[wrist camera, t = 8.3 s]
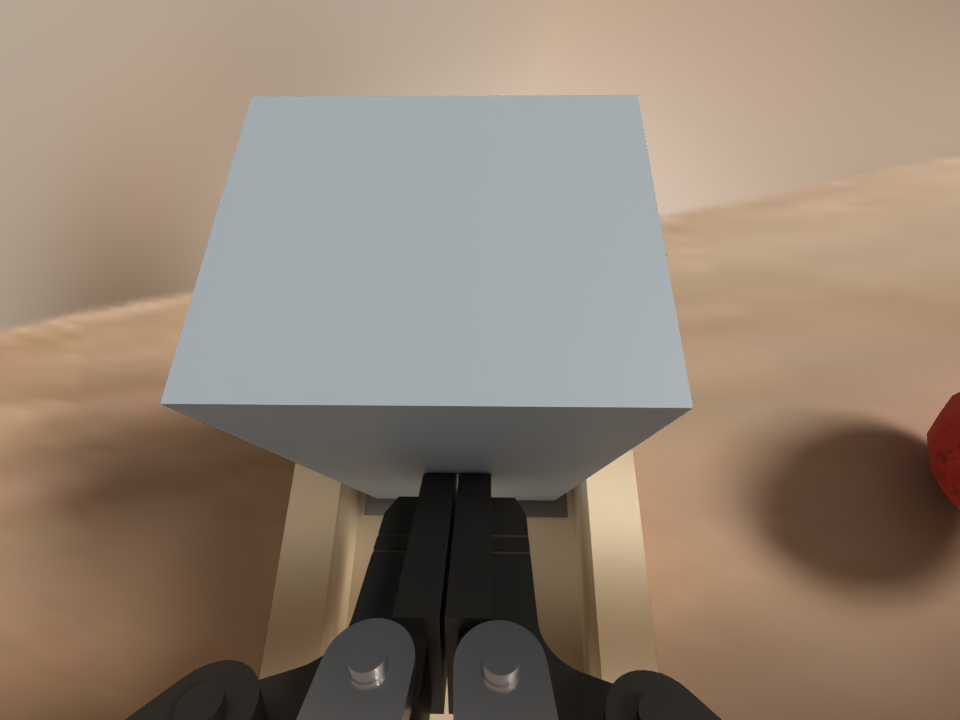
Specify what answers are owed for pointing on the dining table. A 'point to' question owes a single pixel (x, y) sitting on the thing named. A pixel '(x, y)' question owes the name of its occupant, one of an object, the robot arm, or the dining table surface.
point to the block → (436, 292)
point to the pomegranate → (946, 449)
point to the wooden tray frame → (554, 556)
